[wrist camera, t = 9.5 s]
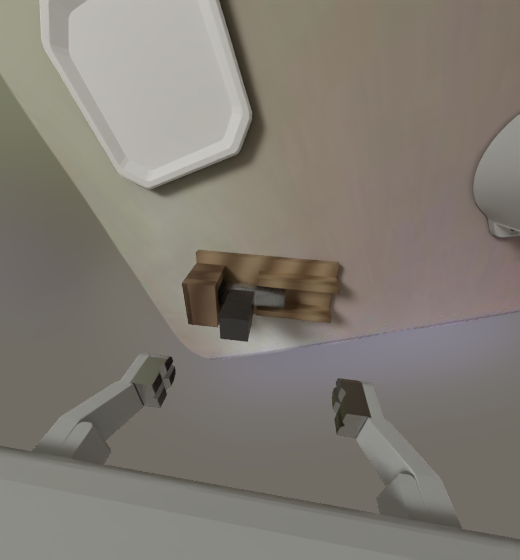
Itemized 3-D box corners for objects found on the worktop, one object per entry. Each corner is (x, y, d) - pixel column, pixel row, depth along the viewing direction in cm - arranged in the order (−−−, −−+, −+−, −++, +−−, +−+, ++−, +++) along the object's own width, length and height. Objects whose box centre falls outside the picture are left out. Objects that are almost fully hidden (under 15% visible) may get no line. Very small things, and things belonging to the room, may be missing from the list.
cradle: (338, 262, 38) (349, 288, 31) (324, 316, 44) (330, 347, 38) (198, 250, 39) (180, 272, 33) (203, 304, 46) (189, 332, 39)
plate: (139, 194, 36) (131, 197, 34) (35, 15, 26) (16, 5, 24) (262, 144, 30) (261, 144, 29) (190, -105, 21) (180, -129, 19)
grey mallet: (285, 282, 39) (285, 324, 30) (283, 300, 41) (282, 345, 32) (206, 275, 40) (183, 313, 31) (208, 293, 42) (187, 334, 33)
